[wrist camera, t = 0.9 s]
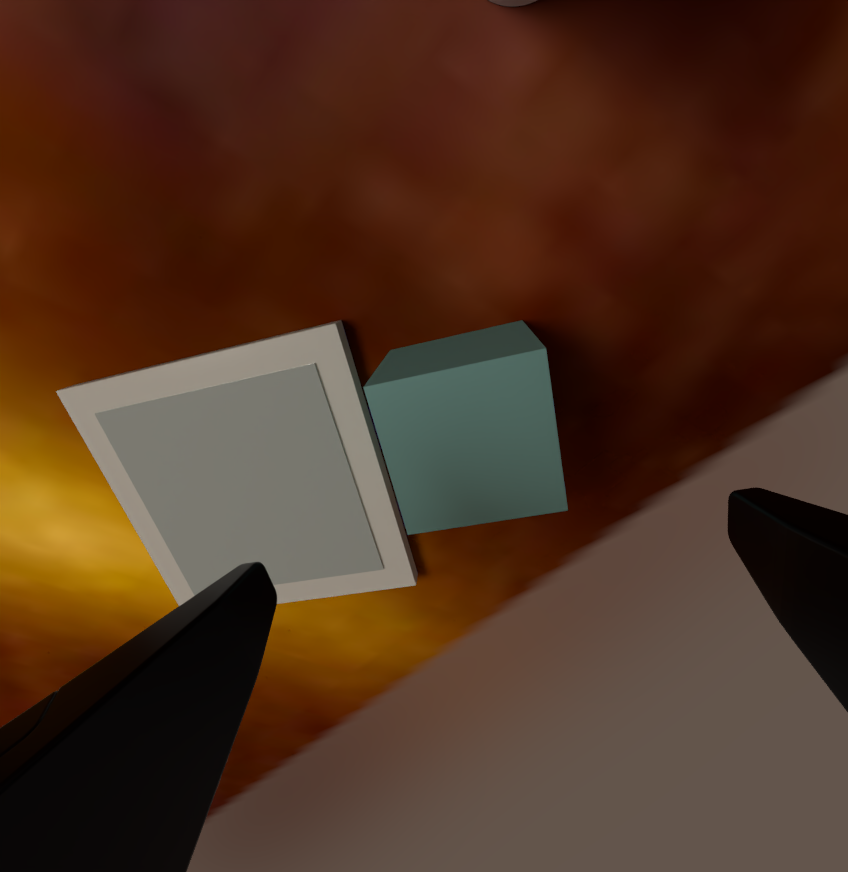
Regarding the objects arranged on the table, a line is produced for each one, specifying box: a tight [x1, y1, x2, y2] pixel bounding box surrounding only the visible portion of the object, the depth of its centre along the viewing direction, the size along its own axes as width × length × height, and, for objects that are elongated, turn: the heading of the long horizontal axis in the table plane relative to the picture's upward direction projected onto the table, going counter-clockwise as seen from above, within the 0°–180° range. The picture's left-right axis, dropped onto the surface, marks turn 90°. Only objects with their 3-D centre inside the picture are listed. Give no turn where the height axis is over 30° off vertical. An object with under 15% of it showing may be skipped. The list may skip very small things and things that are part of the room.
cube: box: [363, 320, 568, 535], centre depth 15 cm, size 5×5×5 cm
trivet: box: [56, 320, 418, 606], centre depth 19 cm, size 12×12×1 cm
